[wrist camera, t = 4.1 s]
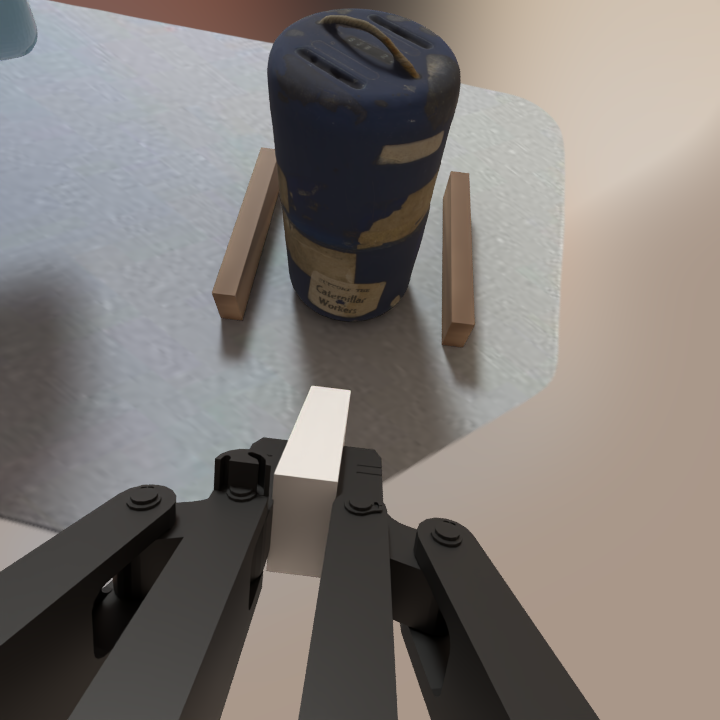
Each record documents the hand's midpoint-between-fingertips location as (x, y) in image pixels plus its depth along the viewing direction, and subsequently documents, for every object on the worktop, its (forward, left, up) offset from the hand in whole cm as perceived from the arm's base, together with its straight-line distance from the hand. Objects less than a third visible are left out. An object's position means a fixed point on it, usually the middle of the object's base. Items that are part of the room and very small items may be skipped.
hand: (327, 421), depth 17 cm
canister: (0, +17, -12) cm, 21 cm away
